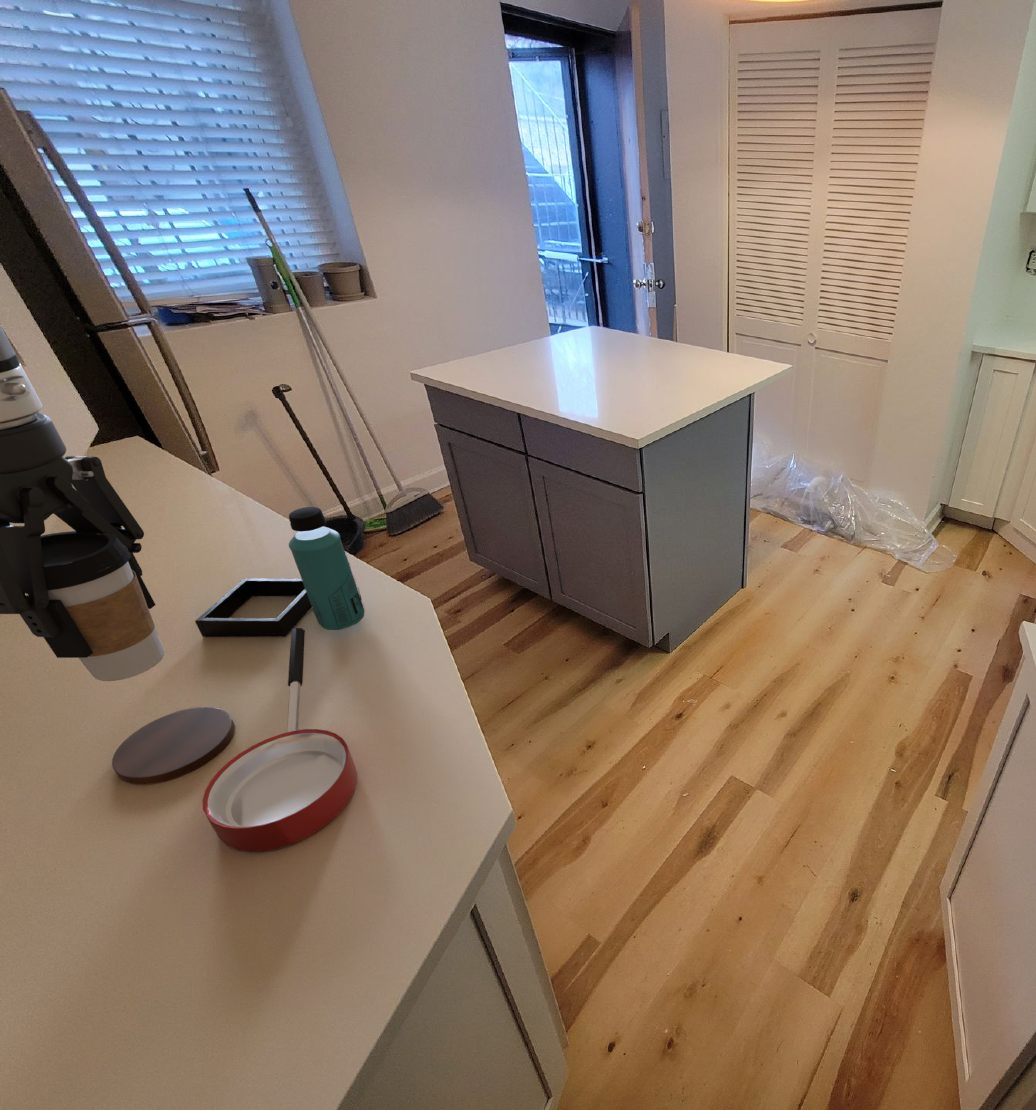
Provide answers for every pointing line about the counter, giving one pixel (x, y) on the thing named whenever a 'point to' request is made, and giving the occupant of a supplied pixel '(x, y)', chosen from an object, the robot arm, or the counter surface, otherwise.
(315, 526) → the beverage bottle
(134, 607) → the coffee cup
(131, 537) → the robot arm
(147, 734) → the walnut coaster
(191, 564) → the counter surface
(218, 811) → the frying pan
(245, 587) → the black open frame
